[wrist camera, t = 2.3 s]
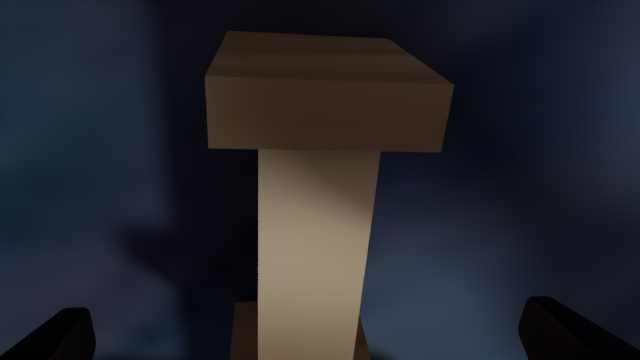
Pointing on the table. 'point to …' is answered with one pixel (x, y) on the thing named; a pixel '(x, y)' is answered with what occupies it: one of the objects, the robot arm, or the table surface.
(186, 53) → the table surface
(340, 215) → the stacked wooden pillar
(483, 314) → the table surface
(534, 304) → the robot arm
